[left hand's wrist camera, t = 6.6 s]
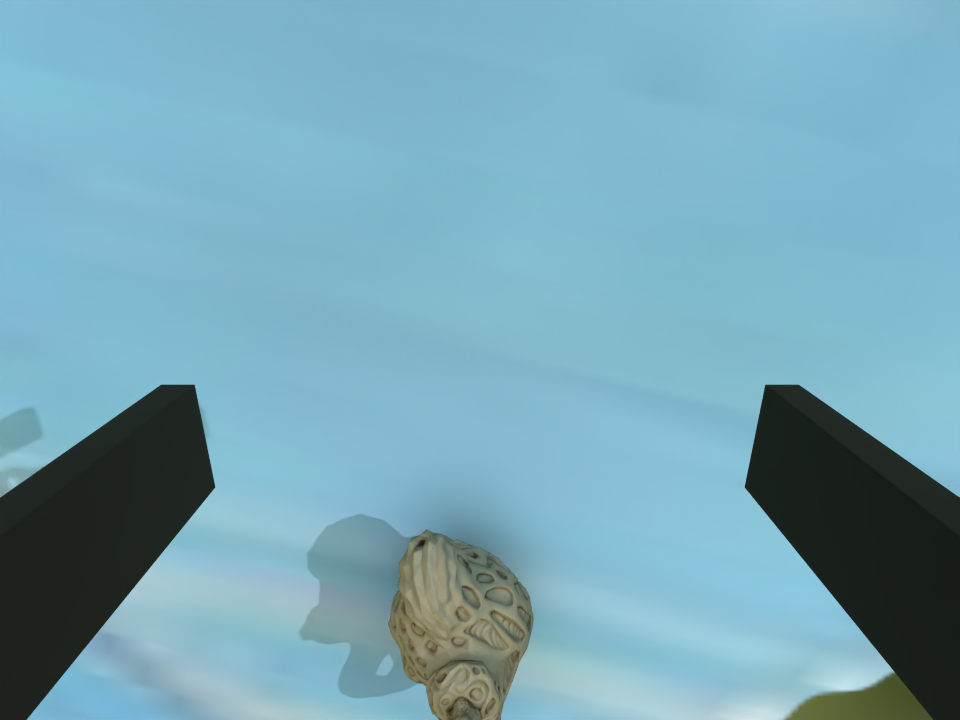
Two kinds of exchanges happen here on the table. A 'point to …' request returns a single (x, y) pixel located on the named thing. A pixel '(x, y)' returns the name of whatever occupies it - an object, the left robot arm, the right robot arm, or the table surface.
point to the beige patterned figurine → (459, 626)
